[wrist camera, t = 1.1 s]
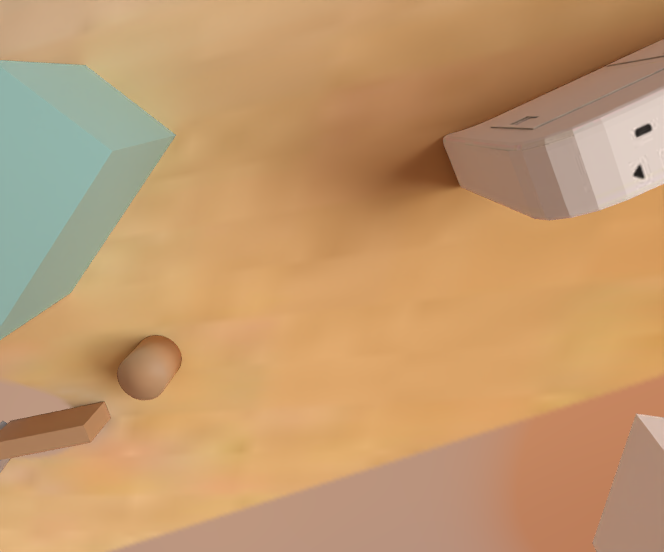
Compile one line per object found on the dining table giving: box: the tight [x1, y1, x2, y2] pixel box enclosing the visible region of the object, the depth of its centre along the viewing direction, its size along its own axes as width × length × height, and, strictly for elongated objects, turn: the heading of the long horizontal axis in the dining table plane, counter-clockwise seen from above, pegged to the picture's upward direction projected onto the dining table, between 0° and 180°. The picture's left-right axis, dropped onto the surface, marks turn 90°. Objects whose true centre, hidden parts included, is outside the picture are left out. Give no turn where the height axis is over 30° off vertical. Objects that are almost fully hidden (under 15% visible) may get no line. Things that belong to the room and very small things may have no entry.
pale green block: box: [0, 60, 176, 340], centre depth 26 cm, size 5×10×7 cm, turn 142°
